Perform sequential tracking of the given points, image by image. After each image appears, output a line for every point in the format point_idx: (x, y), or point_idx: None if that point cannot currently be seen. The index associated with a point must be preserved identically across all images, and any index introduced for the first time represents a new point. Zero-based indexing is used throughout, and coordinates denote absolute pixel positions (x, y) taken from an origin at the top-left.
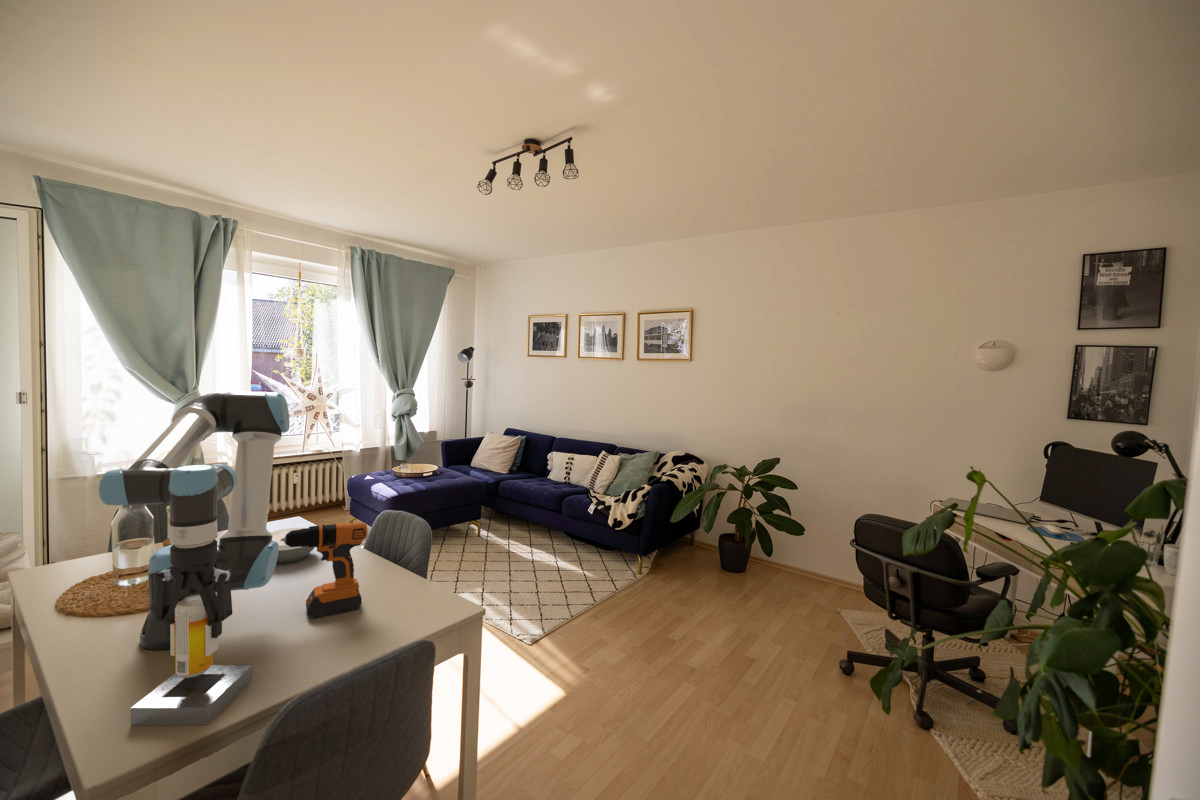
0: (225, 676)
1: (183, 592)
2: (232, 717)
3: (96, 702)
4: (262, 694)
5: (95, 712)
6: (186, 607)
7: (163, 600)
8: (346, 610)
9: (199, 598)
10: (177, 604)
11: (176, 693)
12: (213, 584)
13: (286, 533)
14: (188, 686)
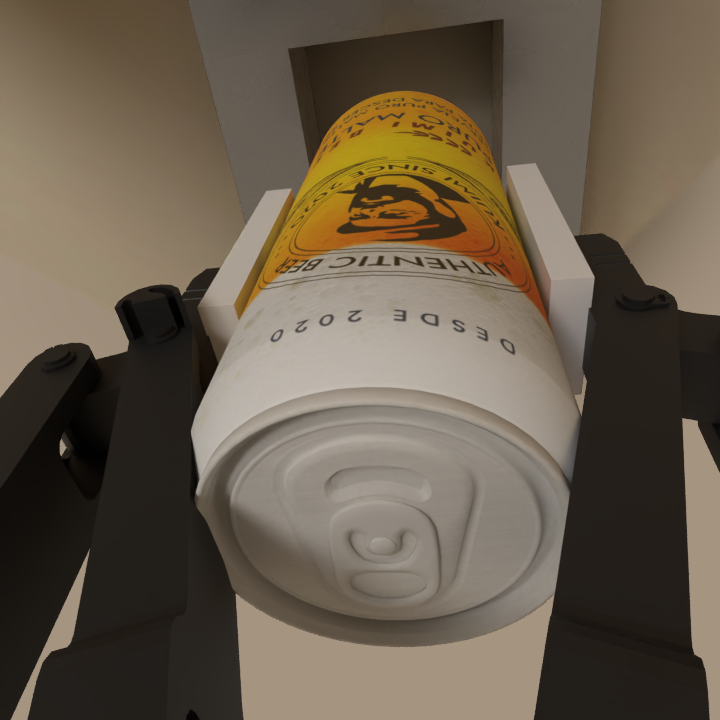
0: (512, 47)
1: (225, 677)
2: (638, 203)
3: (11, 172)
4: (711, 23)
5: (82, 226)
6: (423, 629)
7: (53, 602)
8: None
9: (383, 465)
10: (280, 616)
11: (312, 139)
12: (700, 715)
13: None
14: (301, 50)
